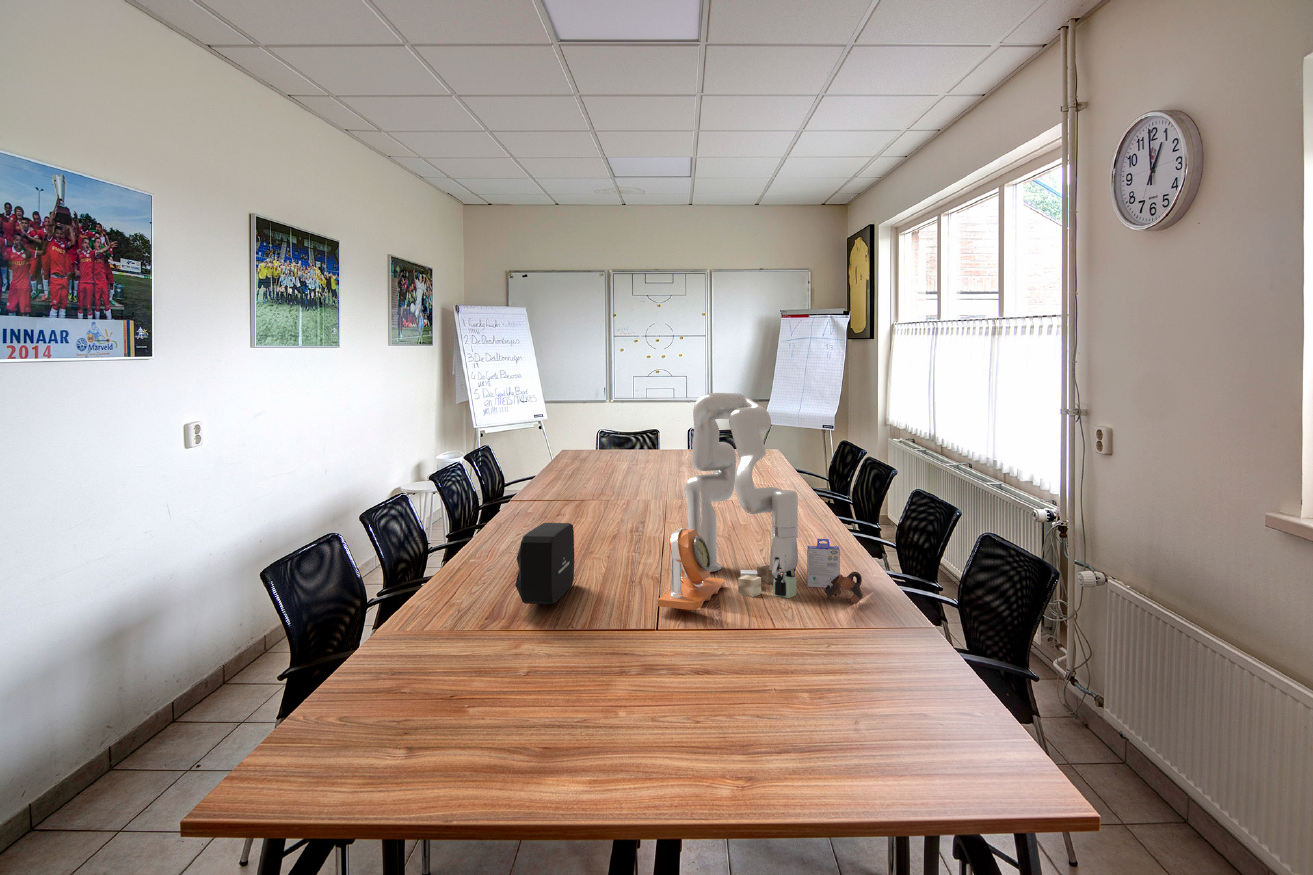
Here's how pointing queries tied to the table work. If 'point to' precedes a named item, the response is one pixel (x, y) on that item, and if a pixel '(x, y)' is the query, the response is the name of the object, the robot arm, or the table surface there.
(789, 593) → the sage cube
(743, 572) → the grey cube
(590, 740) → the table surface
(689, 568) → the desk clock
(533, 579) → the black hard case
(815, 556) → the ink cartridge box
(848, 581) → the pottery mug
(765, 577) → the walnut cube
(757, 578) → the maple cube
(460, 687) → the table surface
